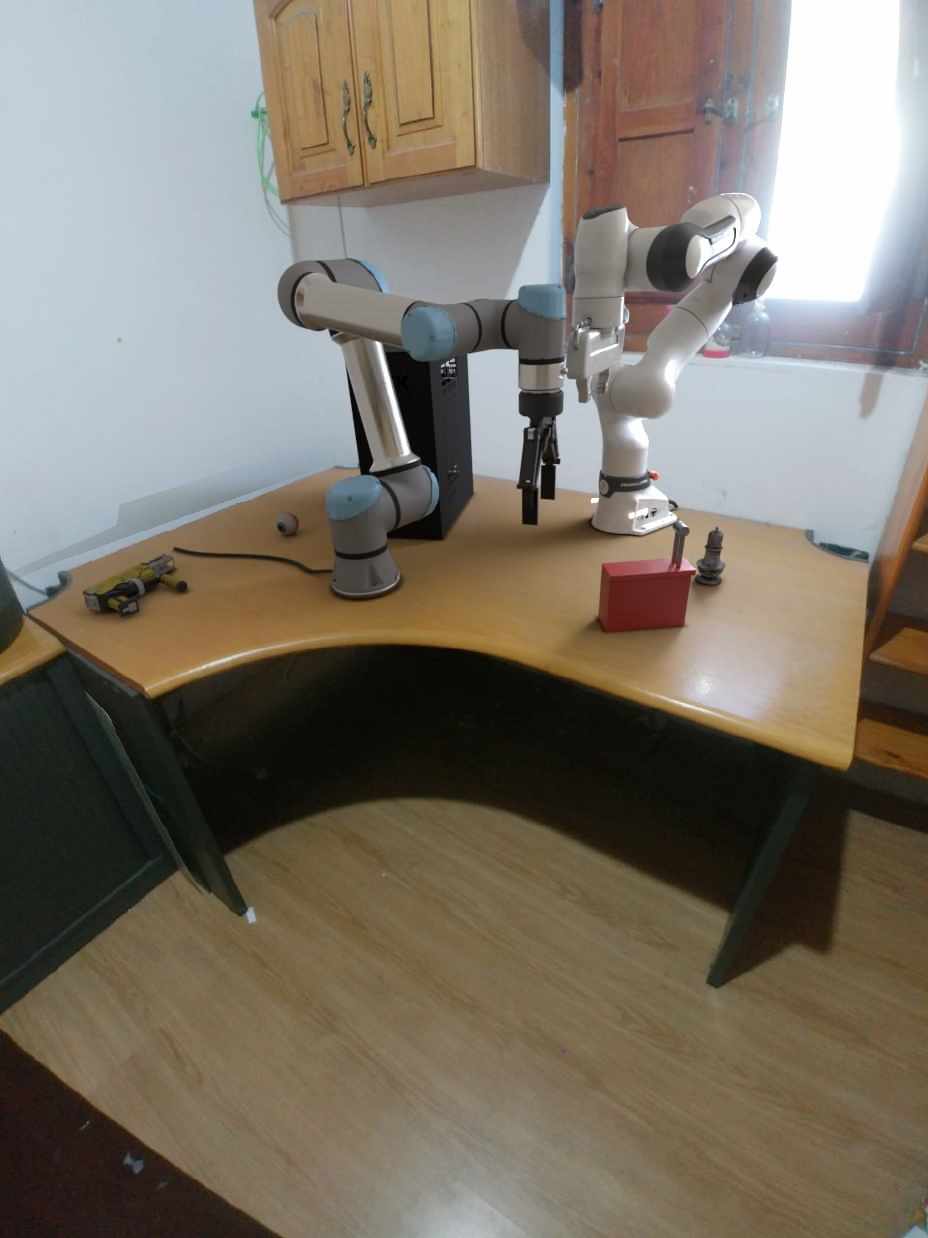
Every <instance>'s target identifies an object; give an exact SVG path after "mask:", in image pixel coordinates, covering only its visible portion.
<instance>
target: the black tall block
mask: <svg viewBox="0 0 928 1238" xmlns="http://www.w3.org/2000/svg"><path fill="white" fill-rule="evenodd" d="M383 347H384V351H385V355H386V359H387V362H388V366H389V370H390V374H391V377H392V381H393V385H394V389H395V392H396V396H397V400H398V404H399V408H400V411H401V415H402V419H403V423H404V426H405V430H406V434H407V438H408V441H409V445H410V449H411V451H412V453H414V454H415V455H417V456H419V457H420V460H421V464H422V465H424V466H427V467H428V468H429V469H430V470H431V473H434V475H435V477H436V479H437V482H438V487H439V498H438V502H437V505H436V506H435V509H434V510H433V511H432V512H431V513H430V514H429V515H427V516H425V517H423V518H422V519H420V520H419V521H414V522H411V523H409V524H406V525H404V526H401V527H399V528H397V529H395V530H392V531H390V532H388V533H386V535H387V538H399V539H401V538H403V539H421V540H422V539H425V540H443V539H444V538H445V537H446V536H447V534H448V532H449V531H450V529H451V527H452V526H453V525H454V523H455V522H456V520H457V518H458V517H459V515H460V514H461V513H462V511H463V509H464V508H465V507H466V504H468V502H469V501H470V499H471V497H472V496H473V494H475V493H474V492H475V491H474V473H473V471H474V470H473V449H472V448H473V446H472V427H471V425H472V424H471V405H470V404H471V402H470V401H471V400H470V383H469V382H470V381H469V380H470V379H469V359H468V358H469V357H468V354H465V355H460V356H455V357H450V358H445V359H442V360H439V361H417V360H415V359H413V358H412V357H411V355H410V354H409V353H407V352H406V350H405V349H403V348H399V347H395V346H391V345H388V344H384V343H383ZM447 363H448V365H447ZM344 365H345V372H346V379H347V386H348V393H349V394H348V395H349V400H350V407H351V415H352V422H353V430H354V437H355V444H356V450H357V458H358V465H359V472H360V473H359V474H360V475H370V468H371V466H372V465H373V461H374V460H373V457H372V453H371V450H370V446H369V443H368V439H367V436H366V432H365V429H364V425H363V422H362V418H361V415H360V412H359V408H358V405H357V401H356V398H355V394H354V391H353V387H352V384H351V380H350V377H349V373H348V370H347V366H346V363H345V362H344ZM443 365H444V366H443Z"/></svg>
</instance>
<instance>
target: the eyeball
mask: <svg viewBox="0 0 928 1238" xmlns="http://www.w3.org/2000/svg"><path fill="white" fill-rule="evenodd" d="M299 525H300V522H299V519H298V517H297V516H296V515H295V514H294V513H292V512H287V511H286V512H282V513H280V514H279V515H278V516H277V517H276V520H275V527H276V529H277V530H278V531H279V532H280V533H281V534H282V535H285V536H286V535H287V536H289V535H293V534H295V533H296V532H297V531H298V529H299Z"/></svg>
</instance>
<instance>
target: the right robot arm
mask: <svg viewBox="0 0 928 1238" xmlns="http://www.w3.org/2000/svg"><path fill="white" fill-rule="evenodd" d="M760 220H761V210H760V207H759V204H758V202H757V201H756V200H755V199H754V197H752V196H751V195H750V194H746V193H741V192H740V193H739V192H733V193H732V192H731V193H722V194H718V195H714V196H711V197H708V198H706V199H703V200H701V201H699V202H697V203H696V204H694V205H692V206H691V207H690V208H689V209H688V210H687V211H685V212H684V213H683V214H682V216H681V218H680V220H679V222H678V223H673V224H670V225H662V226H653V227H643V228H641V227H640V228H639V226H637V225H636V224H634V223H632V221H631V220H630V219H629V218H628V210H627V208H626V206H625V205H622V204H609V205H604V206H601V207H595V208H592V209H589V210H587V211H586V212H584V213H583V214H582V215H581V216H580V219H579V222H578V224H577V229H576V236H575V244H574V258H573V273H574V276H575V285H574V286H575V287H574V291H573V295H572V315H571V328H573V331H572V332H570V334H569V337H568V340H567V341H568V342H567V349H566V360H565V361H566V362H565V368H567V370H568V373H567V374H565V375H566V378H567V380H575V386H576V390H577V393H578V395H577V396H578V399H577V400H578V403H579V404H587V403H589V402H590V401H591V398H592V400H593V402H594V404H595V406H596V409H597V413H598V419H599V425H600V428H601V437H602V447H601V448H602V449H601V450H602V451H601V452H602V453H601V468H600V470H599V474H598V492H599V493H598V497H596V498H591V499H590V501H591V502H590V503H591V504H594V503H596V507H595V511H594V514H593V517H592V520H591V525H592V526H593V527H594V528H595V529H597V530H599V531H601V532H605V533H611V534H623V535H625V534H626V535H632V536H633V535H634V536H645V535H646V534H650V533H652V532H654V531H657V530H660V529H662V528H665V527H668V526H670V525H673V523H674V522H675V521H678V516H677V515H676V514H675V513H674V512H672V511H670V505H672V506H673V507H674V508H675V509H678V508H679V505H678V504H677V502H676V501H675V500H672V499H670V498H668V497H667V496H666V495H665V494H664V493H663V492H661V491H660V490H659V489H658V488H656V487H655V486H654V485H652V483H651V480H653V481H658V479H659V478H660V473H659V472H657V471H654V470H651V471H649V470H648V469H647V466H648V458H649V457H648V456H649V447H650V441H649V437H648V435H647V433H646V431H645V429H644V427H643V426H644V425H643V423H642V420H644V421H646V420H647V421H648V420H657V419H660V418H662V417H664V416H665V415H666V414H668V413H669V412H670V410H671V409H672V407H673V405H674V402H675V400H676V393H677V392H676V383H677V381H678V378H679V377H680V375H681V373H682V371H683V370H684V368H686V366H687V365H688V363H689V362H690V361H692V359H693V357H695V355H696V354H697V353H698V352H699V351H700V350H701V348H703V346H704V345H705V344H706V343H707V342H708V341H709V340H710V339H711V338H712V337H713V335H714V334H715V333H716V331H717V330H718V329H719V327H720V326H721V325H722V324H723V322H724V321H725V319H726V318H727V316H728V315H729V313H730V311H731V309H732V307H740V306H743V305H744V304H746V303H750V302H752V301H755V300H757V299H759V298H761V297H762V296H763V295H765V294H766V293H767V291H768V290H769V289H771V287H772V286H773V285H774V283H775V281H776V280H777V278H778V276H779V274H780V272H781V270H782V266H783V255H782V254H781V252H780V251H779V250H778V249H777V247H775V246H773V245H772V244H768V243H767V242H765V241H764V240H763V239H761V238H760V237H758V235H755V234H756V232H757V230H758V228H759V224H760ZM698 277H701V278H702V279H703V281H702V282H700V283H699V284H698V285H697V286H695V287H694V288H693V289H692V290H690V291H689V292H688V293H687V294H686V295H684V296H683V297H682V298H681V299H680V301H678V302H677V304H675V306H674V307H673V308H672V309H671V310H670V311H669V312H668V313H667V314H666V315H665V317H664V318H663V319H662V320H661V321H660V322H659V323H658V324H657V325H656V327H655V328H654V329H653V330H652V331H651V332H650V333H649V335H648V337H647V342H646V345H647V350H646V351H645V353H644V355H643V356H642V358H641V360H640V361H639V362H637V363H636V364H634V365H633V364H628V363H623V362H621V360H622V357H623V351H624V345H625V344H624V343H625V338H626V337H625V336H626V325H625V324H628V322H629V319H630V310H629V309H628V308H627V307H626V305H625V295H626V294H625V293H626V292H627V293H629V292H636V293H637V292H664V293H677V294H679V293H682V292H684V291H686V290H688V288H690V287H691V286H692V285H693V284H694V282H695V281H696V280H697V279H698Z"/></svg>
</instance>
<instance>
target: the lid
mask: <svg viewBox="0 0 928 1238" xmlns="http://www.w3.org/2000/svg"><path fill="white" fill-rule="evenodd" d="M671 528H672V530H673V531H674V540H673V546H672V554H671V557H668V558H655V559H654V558H653V559H642V560H641V559H639V560H628V561H614V562H602V563H601V570H603V572H604V573H605V575H606V576H607V578H608V580H609V581H610V582H618V581H631V580H644V579H657V578H670V577H683V576H691V577H696V575H697V569H696V568H695V567H694V566H693V565H692V564H691V562H690V561H688V559H686V557H685V556H683V554H684V548H685V541H686V537H687V536H689V534H690V531H691V530H690V528H689V526H687V525H686V524H685V523H684V522H683V521H682V520H680V519H679V520H678V519H677V521H675V522H674V523H672V526H671Z"/></svg>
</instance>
